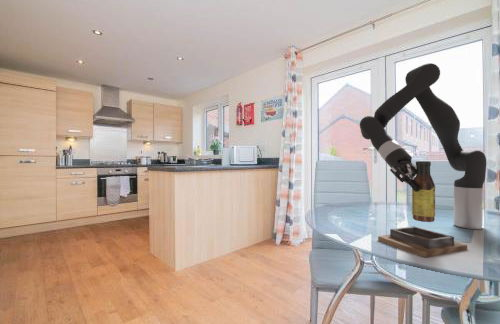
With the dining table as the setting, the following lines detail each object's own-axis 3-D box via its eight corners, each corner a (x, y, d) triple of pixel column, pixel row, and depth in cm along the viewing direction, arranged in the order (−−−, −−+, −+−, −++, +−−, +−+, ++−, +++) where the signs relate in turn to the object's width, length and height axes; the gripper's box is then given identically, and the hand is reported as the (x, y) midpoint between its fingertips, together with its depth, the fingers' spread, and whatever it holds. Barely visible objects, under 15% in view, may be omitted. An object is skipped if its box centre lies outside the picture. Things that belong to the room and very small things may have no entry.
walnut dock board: (417, 234, 91) (417, 224, 91) (467, 249, 76) (467, 237, 76) (378, 240, 84) (378, 229, 84) (424, 257, 69) (424, 244, 69)
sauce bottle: (439, 223, 75) (440, 161, 75) (417, 222, 77) (418, 161, 76) (428, 218, 82) (429, 161, 81) (408, 217, 83) (409, 161, 83)
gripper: (386, 147, 84) (419, 183, 73) (414, 148, 89) (449, 182, 78) (373, 161, 89) (402, 197, 78) (401, 162, 94) (432, 195, 83)
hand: (425, 189), depth 78 cm, fingers closed on sauce bottle, 6 cm apart
